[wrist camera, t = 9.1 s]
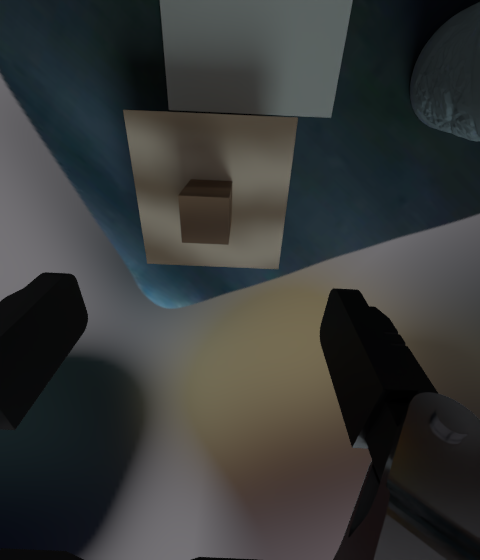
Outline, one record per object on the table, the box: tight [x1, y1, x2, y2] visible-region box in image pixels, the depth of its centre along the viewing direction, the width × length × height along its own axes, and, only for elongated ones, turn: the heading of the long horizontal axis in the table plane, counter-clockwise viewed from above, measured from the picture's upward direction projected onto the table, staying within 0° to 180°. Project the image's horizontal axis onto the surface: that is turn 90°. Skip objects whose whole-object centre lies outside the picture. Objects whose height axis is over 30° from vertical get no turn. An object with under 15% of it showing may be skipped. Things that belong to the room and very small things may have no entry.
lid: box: [123, 110, 298, 269], centre depth 22 cm, size 13×13×6 cm
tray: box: [160, 0, 353, 118], centre depth 22 cm, size 15×15×1 cm
